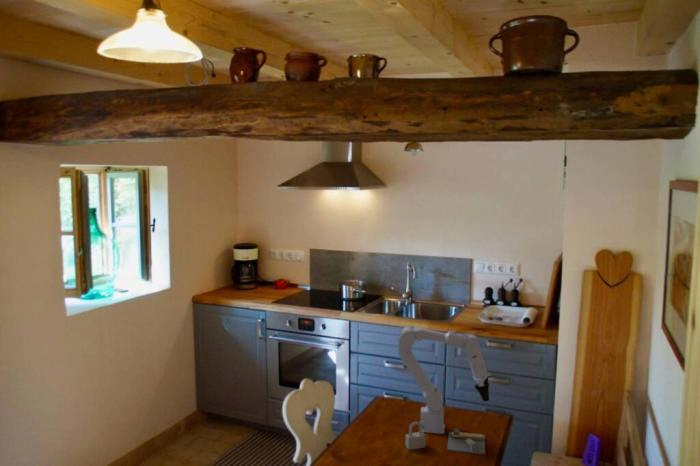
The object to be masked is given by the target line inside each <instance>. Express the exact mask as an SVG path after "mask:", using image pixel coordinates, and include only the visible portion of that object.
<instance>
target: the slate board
mask: <svg viewBox="0 0 700 466" xmlns="http://www.w3.org/2000/svg"><path fill="white" fill-rule="evenodd" d="M452 432H453V431H448V440H447V447H446V450H447V452H456V453H464V454H465V453H466V454H475V455H486V435H485V434H482V440H475V439H471V440H473V441H474V442H475V443H476V450H471V449H470V445H469V444H468V443H467V442H466V439H465V438H454V437H452Z"/></svg>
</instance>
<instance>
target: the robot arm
mask: <svg viewBox="0 0 700 466" xmlns="http://www.w3.org/2000/svg"><path fill="white" fill-rule="evenodd" d="M425 339H426V340H432V341H438V342H444V344H445V345H446V346H449V347H452V348H458V349H464V350H465V351H466V353H467V360H468V363H469V366H470V370H471V374H472V379H473V380H474V381H475V382H476V383H477V384H474V388H475V390H476V391H478V393H479V395H480V397H481V399H482V401H483V402H489V401H490V392H489V388H490V383H489V377H491V375H492V374H491V372H488V371H487V367H486V363H485V360H484V356H483V353H482V350H481V348H480V342H479V338H478V336H477V335H475V334H473V333H459V332H456V330H453V329H452V331H451V330H449V331H447V332H446V333H445V332H441V331H438V330H433V329H428V328H424V327H421V326H419V325H418V326H417V325H411V324H409V325H405V326H404V327H403V328H402V330H401V332H400V334H399V337H398V340H397V343H398V352H397V353H398V356H399V357H400V359H401V361H402V362H403V364H404V365H405V366H406V369H407V370H408V372H409V373H410V375H411V376H412V377H413V379H414V381H415V383H416V384H417V386H418V387H419V389H420V390H421V391H422V392H421V393H422V395H423V398H424V399H425V403H426V405H425V406H422V407H421V408H420V420H419V422H420V423H421V424H422V432H423V433H428V434H429V433H430V434H437V435H439V434H441V435H444V434H445V428H446V425H445V424H444V423H445V422H444V420H445V418H444V417H445V415H444V414H445V413H444V409H445V407H444V405H443V399H444V394H443V392H442V390H441V389H439V388H437V387H436V385H435V384H434V383H432V381H431V379H429V377H428V375H427V374H426V372H425V371H424V369H423V368H422V366H421V364H420V363H419V361H418V360H417V358H416V357H415V355H414V354H413V351H412V348H413V345H414V344H415V342H420V341H423V340H425Z"/></svg>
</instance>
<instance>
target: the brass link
mask: <svg viewBox="0 0 700 466" xmlns="http://www.w3.org/2000/svg"><path fill="white" fill-rule="evenodd" d="M451 432H452V437H454V438H465V439H475V440H482V435H483V434H481V433H474V432H462V431H459V434H454V431H451Z"/></svg>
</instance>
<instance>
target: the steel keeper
mask: <svg viewBox="0 0 700 466" xmlns="http://www.w3.org/2000/svg"><path fill="white" fill-rule="evenodd" d="M466 442H467V443H468V444H469V445H470V449H471V450H476V443H475V442H474V441H473V440H471V439H466Z"/></svg>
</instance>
